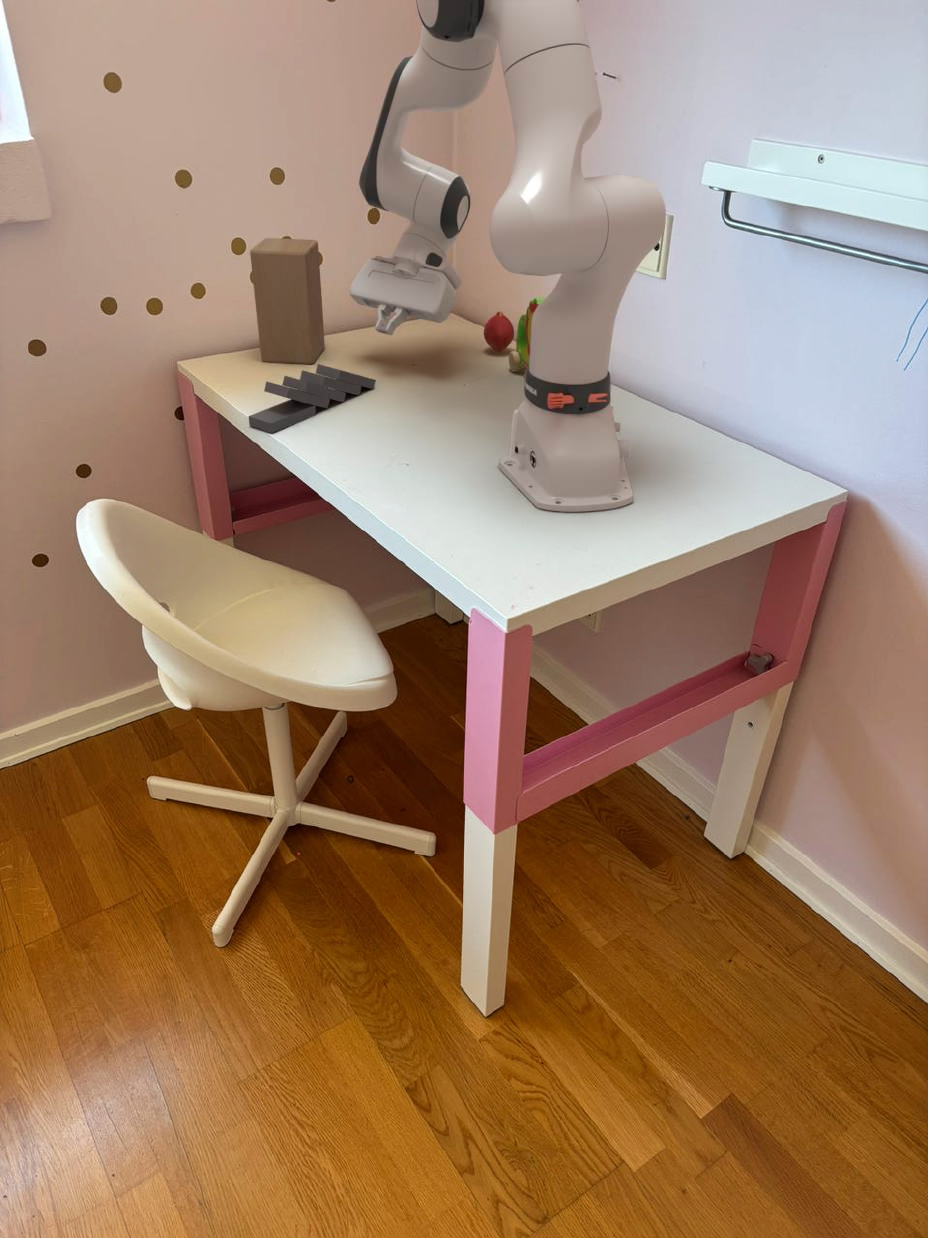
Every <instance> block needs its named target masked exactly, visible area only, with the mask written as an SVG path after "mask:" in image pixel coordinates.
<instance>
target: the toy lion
mask: <svg viewBox="0 0 928 1238" xmlns="http://www.w3.org/2000/svg"><path fill="white" fill-rule="evenodd" d="M546 297H547V296H546ZM546 297H534V298H533V299H532V300H530V301H529V304H528V306H527V308H526V311H525V312H526V313H525V314H522V315H521V316H520V317H519V320H518V323H517V330H516V344H515V347H516V348H515V350H512V351H510V352H509V355H508V364H509V370H510V371H511V373H517V372H520V369H522V370H523V369H524V370H525V372H524V375H523V380H524V379H525V376H526V369H527V368H528V367H529V359H530V341H531V323H532V317H533V314H534V312H535V310H536V308H537V307H538V305H539V304H540V303H541V302H542V301H543V300H544V299H545V298H546Z"/></svg>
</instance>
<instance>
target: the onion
mask: <svg viewBox="0 0 928 1238" xmlns="http://www.w3.org/2000/svg"><path fill="white" fill-rule="evenodd" d="M483 337H484V340H485V342H486V344H487V345H488V346H489V347H490V348H492V350H494V352H496V353H501V352H502V351H504V350H505V349H507V348H508V346H509V345H510V344H511V343H512V341H514V339H515V338H514V337H515V329H514V326H513V323H512V322H511V320H510V318H508V317H507V316H506V315H504V313H503V311H502V310H497V312H496V314H495V315H493V316H491V317H490V318H489V319H488V321H487V322H486V323H485V325H484V328H483Z"/></svg>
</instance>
